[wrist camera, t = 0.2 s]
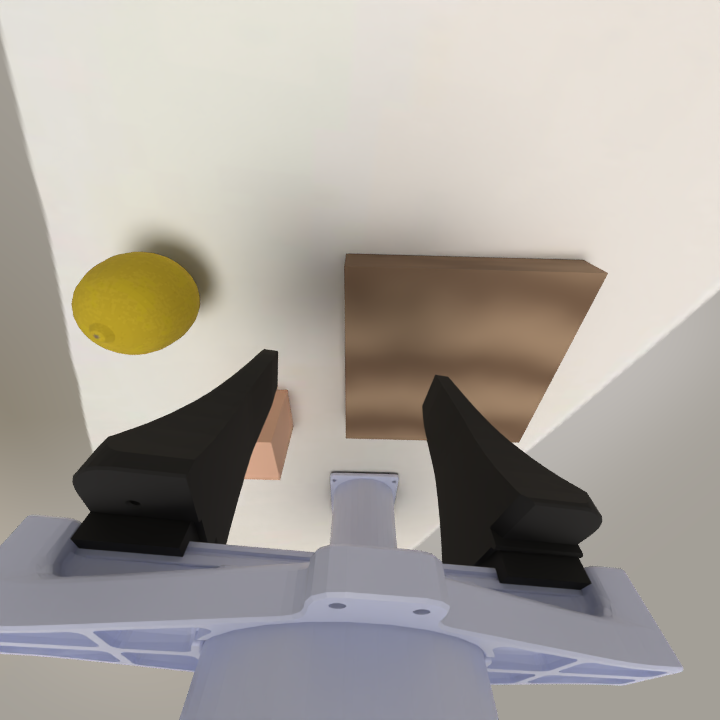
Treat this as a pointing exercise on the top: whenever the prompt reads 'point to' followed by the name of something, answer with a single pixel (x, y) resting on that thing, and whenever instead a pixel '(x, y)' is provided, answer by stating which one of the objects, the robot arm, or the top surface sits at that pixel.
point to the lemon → (136, 303)
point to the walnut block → (457, 335)
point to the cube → (272, 441)
